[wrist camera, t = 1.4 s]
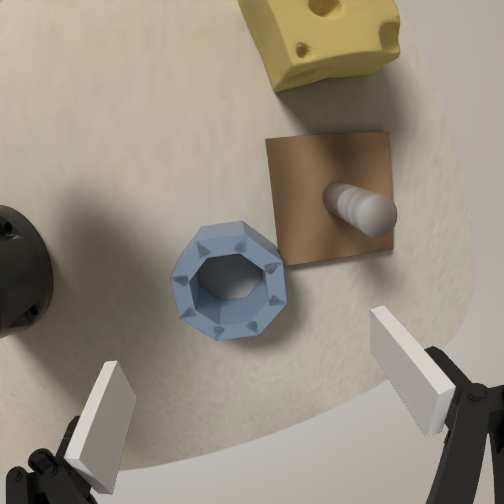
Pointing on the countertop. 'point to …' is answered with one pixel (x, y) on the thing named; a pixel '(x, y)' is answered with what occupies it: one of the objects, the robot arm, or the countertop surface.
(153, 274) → the countertop surface
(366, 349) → the countertop surface
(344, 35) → the cheese
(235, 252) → the ring
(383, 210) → the post
